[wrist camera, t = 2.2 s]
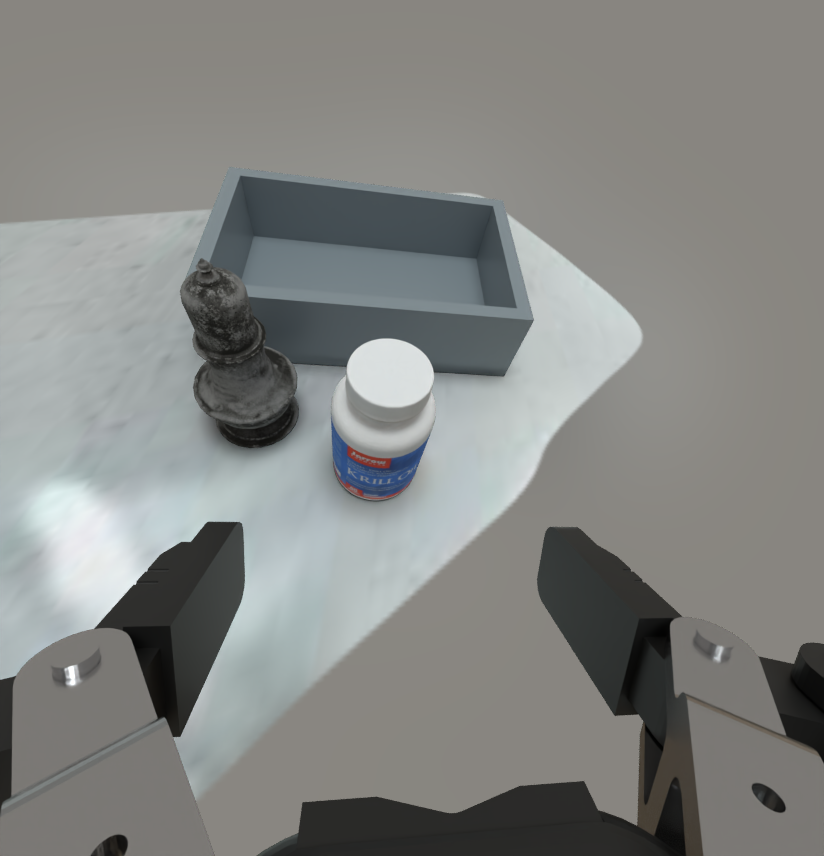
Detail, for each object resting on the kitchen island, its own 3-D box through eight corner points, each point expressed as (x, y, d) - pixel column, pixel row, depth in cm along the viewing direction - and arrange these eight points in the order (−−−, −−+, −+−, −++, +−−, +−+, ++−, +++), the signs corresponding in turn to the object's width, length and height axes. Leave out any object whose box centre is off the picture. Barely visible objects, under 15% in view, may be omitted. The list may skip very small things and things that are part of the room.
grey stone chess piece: (200, 448, 25) (95, 298, 15) (224, 374, 28) (151, 208, 18) (295, 455, 25) (258, 317, 15) (309, 382, 28) (286, 226, 18)
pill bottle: (339, 509, 24) (333, 429, 16) (329, 433, 27) (319, 329, 18) (425, 495, 25) (462, 414, 17) (407, 424, 28) (432, 322, 20)
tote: (210, 357, 28) (180, 291, 23) (246, 238, 35) (229, 166, 30) (503, 376, 31) (533, 320, 26) (482, 262, 38) (502, 200, 33)
